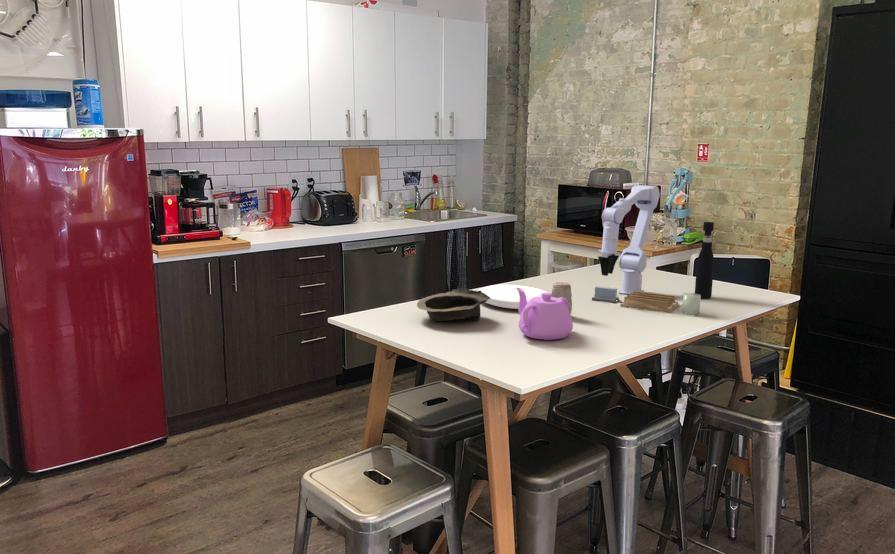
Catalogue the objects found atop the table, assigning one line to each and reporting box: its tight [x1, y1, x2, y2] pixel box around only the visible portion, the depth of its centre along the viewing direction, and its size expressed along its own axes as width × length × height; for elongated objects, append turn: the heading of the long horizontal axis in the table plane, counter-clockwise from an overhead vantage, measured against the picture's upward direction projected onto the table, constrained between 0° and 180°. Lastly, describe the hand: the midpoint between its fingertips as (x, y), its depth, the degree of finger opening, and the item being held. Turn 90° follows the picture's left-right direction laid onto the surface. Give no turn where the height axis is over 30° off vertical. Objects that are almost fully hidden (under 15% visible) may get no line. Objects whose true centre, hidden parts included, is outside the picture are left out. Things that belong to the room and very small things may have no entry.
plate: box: [477, 284, 549, 310], centre depth 273 cm, size 28×6×27 cm
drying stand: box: [591, 296, 620, 304], centre depth 281 cm, size 6×9×1 cm
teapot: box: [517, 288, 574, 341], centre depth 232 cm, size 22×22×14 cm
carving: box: [551, 281, 573, 315], centre depth 254 cm, size 6×8×12 cm
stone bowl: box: [416, 288, 490, 322], centre depth 249 cm, size 25×25×9 cm
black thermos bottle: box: [694, 221, 715, 300], centre depth 284 cm, size 6×6×30 cm
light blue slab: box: [594, 285, 618, 300], centre depth 280 cm, size 2×8×5 cm, turn 61°
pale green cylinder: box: [681, 292, 702, 316], centre depth 260 cm, size 6×6×7 cm
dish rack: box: [619, 291, 679, 313], centre depth 272 cm, size 15×18×4 cm
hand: (607, 274), depth 279 cm, fingers open, 7 cm apart
